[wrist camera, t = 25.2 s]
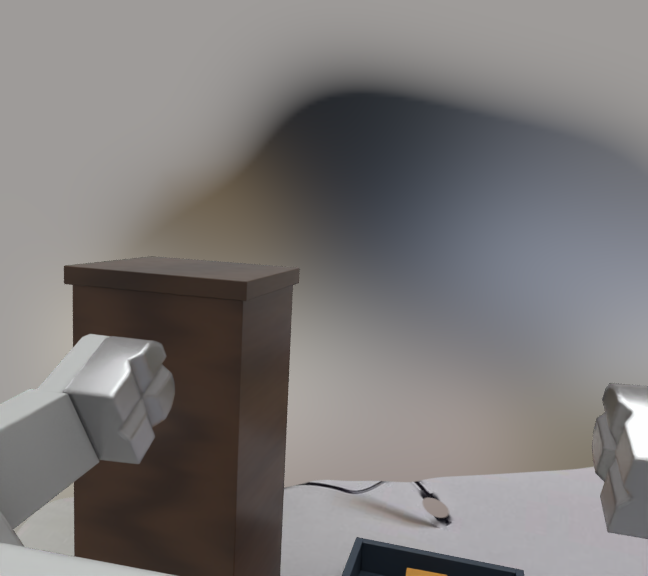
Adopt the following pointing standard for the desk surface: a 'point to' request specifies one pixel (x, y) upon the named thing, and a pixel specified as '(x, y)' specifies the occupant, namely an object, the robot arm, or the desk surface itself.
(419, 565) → the tray
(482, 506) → the desk surface
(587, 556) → the desk surface
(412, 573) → the bar
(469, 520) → the desk surface
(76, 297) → the stand
